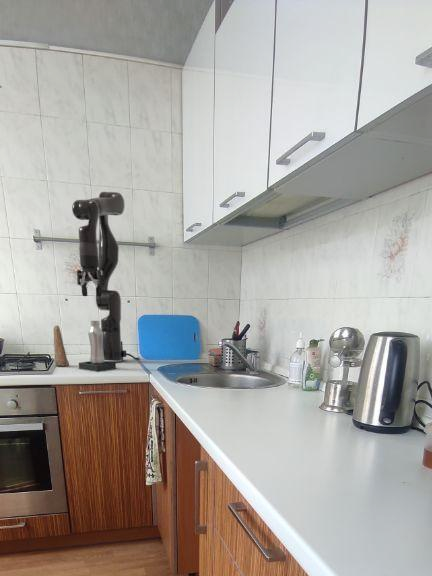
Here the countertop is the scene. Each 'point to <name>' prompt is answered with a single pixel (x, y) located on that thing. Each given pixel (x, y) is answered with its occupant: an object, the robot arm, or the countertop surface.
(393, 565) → the countertop surface
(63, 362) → the brown tapered cone
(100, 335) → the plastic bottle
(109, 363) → the tray
